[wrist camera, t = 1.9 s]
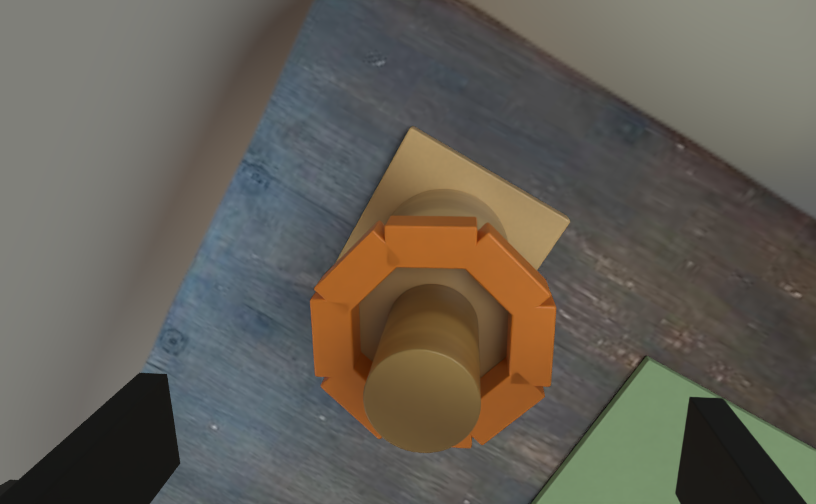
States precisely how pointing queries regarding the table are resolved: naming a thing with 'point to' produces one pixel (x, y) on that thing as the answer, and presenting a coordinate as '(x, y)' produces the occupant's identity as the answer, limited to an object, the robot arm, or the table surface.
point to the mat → (657, 446)
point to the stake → (440, 297)
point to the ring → (450, 249)
